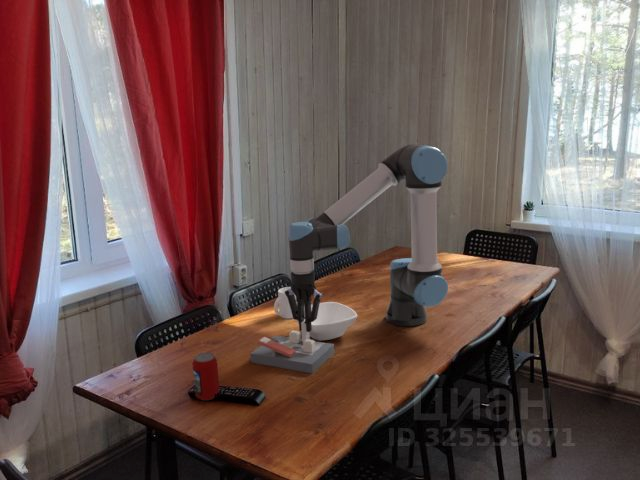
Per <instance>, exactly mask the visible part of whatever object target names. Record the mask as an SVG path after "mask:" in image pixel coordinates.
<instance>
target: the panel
mask: <svg viewBox="0 0 640 480" xmlns="http://www.w3.org/2000/svg"><path fill="white" fill-rule="evenodd" d="M269 339H271V340H273V341H275V342H278V343H280V344H282V345H285V346H287V347H289V348H292V349H294V350H296V352H295V354H294V355H292V356H291V357H288V356H286V355H283V354H281V353H279V352H276V351H274V350H272V349H269V348H267V347H265V346H262V345H260V346H259V347H258V348H256V349H254V350H253V351H252V352H250V355H249V356H250V363H251V364H257V365H263V366H264V365H265V366H269V367H270V366H271V367H276V368H279V369H280V368H281V369H286V370H292V371H295V372H296V371H298V372H303V373H308V374H314V373H315V372H316V371H317V370H318V369H319V368H320V367H321V366H322V365H324V363H326V361H327V360H329V359H330V358H331V357H332V356H333V355H334V354H335V344H334V343H330V342H322V341H318V340H314V341H315V351H313V352H312V353H310V352H304V351H303V342H302V338H301V341H300V342H299V343H292V342H290V340H289V336H283V335H276V334H275V335H273V336H272V337H270V338H269Z"/></svg>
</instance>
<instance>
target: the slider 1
mask: <svg viewBox="0 0 640 480" xmlns="http://www.w3.org/2000/svg"><path fill="white" fill-rule="evenodd" d="M288 337H289V340H290V342H292V343H299V342H300V341H301V339H302V331H300V330H291V331H290V332H289V333H288Z"/></svg>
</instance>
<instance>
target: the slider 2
mask: <svg viewBox="0 0 640 480" xmlns="http://www.w3.org/2000/svg"><path fill="white" fill-rule="evenodd" d="M315 341H316V340H315V339H311V338H310V339H306V340H305V341H304V342H303V351H304V352H310V353H312V352H313V351H315Z"/></svg>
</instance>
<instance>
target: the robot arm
mask: <svg viewBox="0 0 640 480" xmlns="http://www.w3.org/2000/svg"><path fill="white" fill-rule="evenodd" d="M377 167H378V168H377V169H375V170H374V171H373V172H371V173H370V174H369V175H368V176H367V177H365V178H364V179H363V180H362V181H361V182H359V183H358V184H357V185H356V186H354V187H353V188H352V189H351V190H349V191H348V192H347V193H346V194H345V195H344V196H342V197H341V198H340V199H338V200H337V201H336V202H335V203H333V204H332V205H331V206H330V207H329V208H327V209H325V210H324V211H323V212H322V213H320V214H319V215H318V216H317V217H311V218H309V219H308V220H306V221H298V222H297V221H296V222H292V223H290V225H289V226H288V245H289V248H288V249H289V263H290V264H289V268H290V271H291V272H290V281H291V286H290V287H291V289H288V290H287V291H285V294H286V296H287V298H288V301H289V304H290V308H291V312H292V315H293V319H292V320H295V321H296V320H298V321H299V324H298V327H299V329H298V331H299V332H301V339H302V342H304V341H305V340H306V339H310V340H311V337H310V331H311V330H312V325H311V322H313V321H314V320H316V319H317V314H318V309H319V304H320V303H321V300H322V297H323V296H324V293H323V292H321V291H320V292H319V291H318V290H317V287H316V285H315V284H316V279H315V271H314V269H315V263H314V261H315V259H314V253H315V252H320V251H321V252H322V251H330V250H339V249H340V250H341V249H344V248H347V247H349V245H350V243H351V235H350V230H349V228H348V226H347V225H345V223H347V222H348V221H349V220H350V219H351V218H353V217H354V216H355V215H357V214H358V213H359V212H360V211H361V210H363V209H364V208H365V207H366V206H368V205H369V204H370V203H371V202H373V201H374V200H375V199H376V198H378V197H379V196H380V195H382V194H383V193H384V192H386V190H388V189H389V188H390V187H392V186H394V187H395V186H398V185H399V184H400V183H402V182H403V181H405V189H407V191H409V193H410V229H411V230H410V232H411V233H410V235H411V239H410V240H411V241H410V243H411V257H405V258H403V257H402V258H397V259H393V260H392V261H391V262H390V265H389V276H390V280H389V281H390V282H389V283H390V299H389V302H388V307H387V309H386V313H385V319H386V321H387V323H390V324H391V325H396V326H400V327H415V326H419V325H423V324H425V323H426V322H427V321H428V312H427V309H426V308H431V307H436V306H437V305H440V303H442V301H443V300H445V298H446V297H447V295H448V291H449V285H448V282H447V280H446V279H445V278H444V276H443V266H442V264H441V263H440V262H439V261H438V214H437V213H438V206H437V205H438V204H437V203H438V202H437V199H438V198H437V196H438V194H437V192H438V191H439V189H441V188H442V181H443V180H444V177H445V176H446V175H447V173H448V168H449V167H448V160H447V157H446V156H445V154H444V152H442V151H441V150H440V149H439V148H437V147H435V146H431V145H421V144H406V145H403V146H401V147H399V148H398V149H396V150H395V151H393V152H392V153H391V154H390V155H389V156H386V158H384V159H383V160H382V161H381V162H379V163H378V165H377ZM294 294H295V296H296V299H295V296H294ZM312 297H313V303H312ZM296 302H297V303H296ZM311 305H313V307H312V311H311ZM304 308H305V312H304ZM304 319H305V320H304Z"/></svg>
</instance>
